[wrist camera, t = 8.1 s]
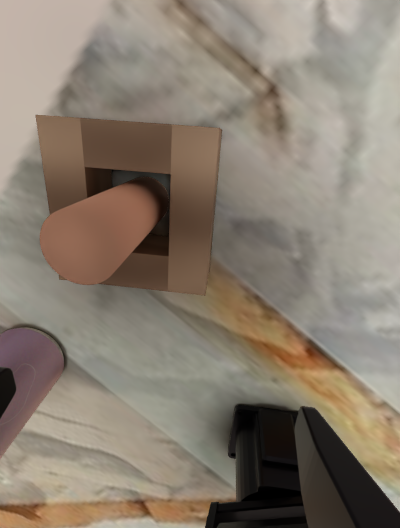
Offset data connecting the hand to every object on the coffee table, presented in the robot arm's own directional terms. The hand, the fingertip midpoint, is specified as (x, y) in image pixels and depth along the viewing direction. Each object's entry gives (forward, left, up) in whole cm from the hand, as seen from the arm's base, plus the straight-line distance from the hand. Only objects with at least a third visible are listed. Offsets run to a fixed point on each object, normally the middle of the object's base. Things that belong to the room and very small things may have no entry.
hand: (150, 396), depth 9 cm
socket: (+3, +3, -12) cm, 13 cm away
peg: (+3, +3, -12) cm, 13 cm away
